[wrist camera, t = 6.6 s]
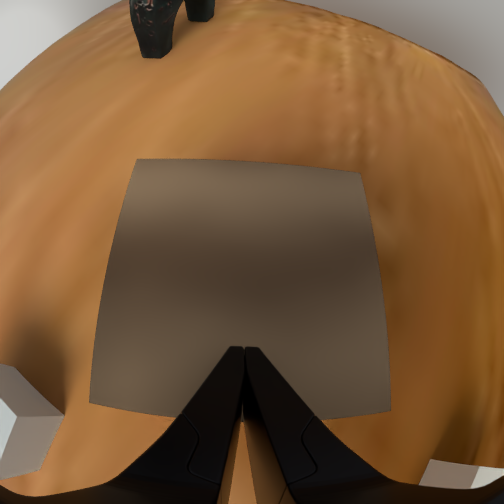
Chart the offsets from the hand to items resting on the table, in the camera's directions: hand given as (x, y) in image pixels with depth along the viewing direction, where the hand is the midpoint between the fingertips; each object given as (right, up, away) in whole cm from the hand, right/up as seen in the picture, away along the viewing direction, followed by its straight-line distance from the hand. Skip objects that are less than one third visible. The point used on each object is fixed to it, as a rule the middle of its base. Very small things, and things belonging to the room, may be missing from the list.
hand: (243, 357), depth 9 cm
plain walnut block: (-1, -1, +8) cm, 8 cm away
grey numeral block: (-13, -8, +4) cm, 16 cm away
